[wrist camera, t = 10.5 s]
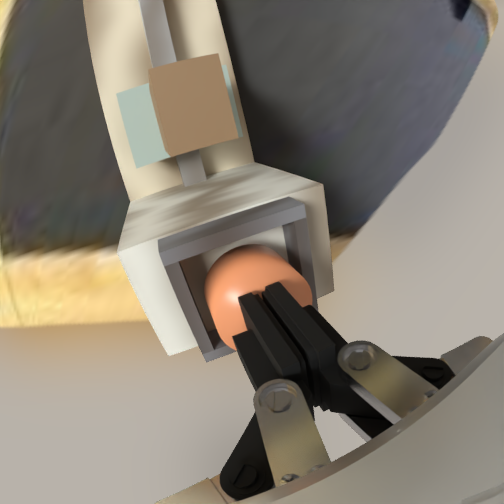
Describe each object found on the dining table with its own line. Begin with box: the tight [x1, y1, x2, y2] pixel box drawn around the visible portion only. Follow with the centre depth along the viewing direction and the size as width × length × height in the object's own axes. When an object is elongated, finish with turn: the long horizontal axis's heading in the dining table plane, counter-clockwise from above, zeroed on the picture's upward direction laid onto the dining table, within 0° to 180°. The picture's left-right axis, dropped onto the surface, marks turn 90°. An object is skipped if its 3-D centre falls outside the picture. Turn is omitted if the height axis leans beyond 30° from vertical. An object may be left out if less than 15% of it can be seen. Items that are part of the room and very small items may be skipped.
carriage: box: [116, 53, 243, 168], centre depth 15 cm, size 7×5×9 cm
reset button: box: [204, 244, 312, 351], centre depth 12 cm, size 4×4×2 cm
